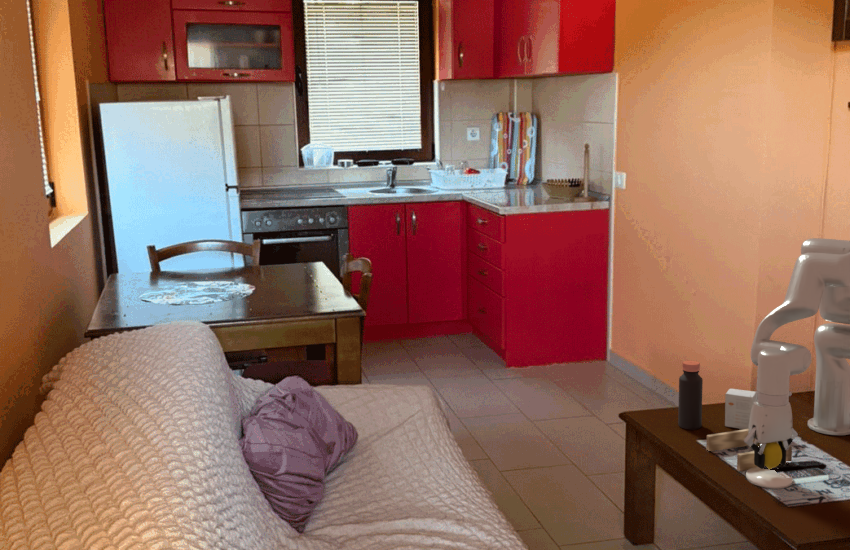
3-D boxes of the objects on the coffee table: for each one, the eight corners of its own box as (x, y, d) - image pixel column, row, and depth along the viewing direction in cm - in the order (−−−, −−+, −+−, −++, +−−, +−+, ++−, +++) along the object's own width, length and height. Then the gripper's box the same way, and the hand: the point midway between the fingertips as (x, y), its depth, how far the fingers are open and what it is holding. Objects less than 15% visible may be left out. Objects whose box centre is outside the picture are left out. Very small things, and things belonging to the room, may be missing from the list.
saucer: (773, 467, 216) (773, 464, 216) (802, 484, 206) (802, 481, 206) (737, 473, 214) (737, 470, 213) (764, 491, 203) (764, 487, 203)
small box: (756, 424, 246) (757, 391, 244) (752, 431, 242) (753, 397, 240) (728, 420, 250) (729, 387, 249) (724, 426, 246) (725, 393, 244)
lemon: (783, 474, 206) (784, 444, 205) (760, 473, 207) (761, 443, 206) (778, 465, 211) (780, 436, 210) (756, 464, 213) (757, 435, 211)
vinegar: (705, 428, 244) (707, 364, 241) (684, 431, 244) (685, 366, 240) (694, 421, 251) (696, 358, 247) (674, 423, 250) (675, 360, 246)
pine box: (755, 442, 233) (756, 427, 232) (791, 462, 219) (792, 447, 218) (706, 450, 229) (706, 435, 228) (739, 471, 215) (740, 455, 214)
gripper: (791, 389, 211) (788, 454, 215) (733, 397, 207) (731, 464, 211) (811, 398, 204) (808, 465, 208) (752, 407, 200) (750, 475, 203)
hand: (769, 464), depth 209 cm, fingers closed on lemon, 5 cm apart
